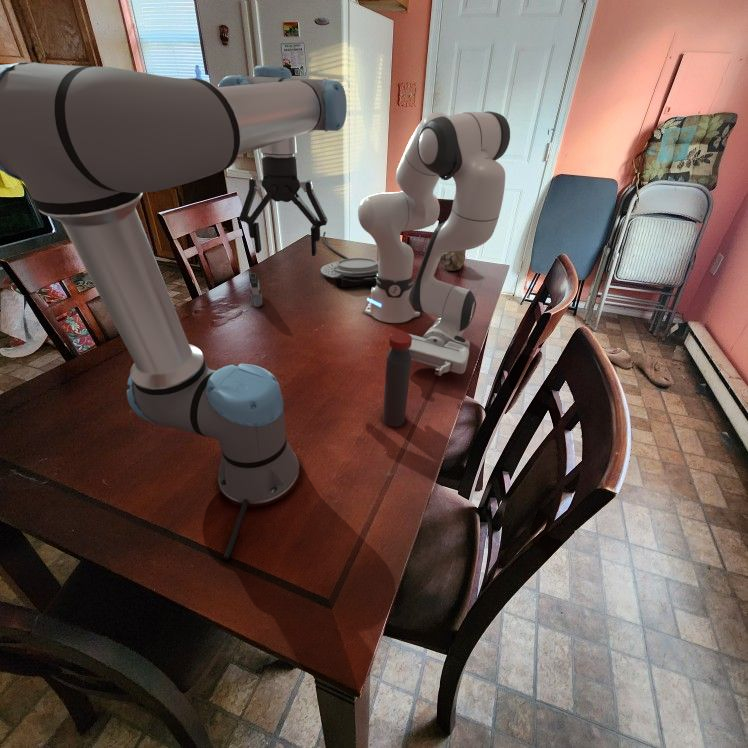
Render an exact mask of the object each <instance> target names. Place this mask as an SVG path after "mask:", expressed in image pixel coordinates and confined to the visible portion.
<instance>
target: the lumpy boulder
mask: <svg viewBox="0 0 748 748" xmlns="http://www.w3.org/2000/svg"><path fill="white" fill-rule="evenodd" d="M465 251H466V250H459V251H451V252H446V253H444V254H442V255H441V258H440V261H439V264H441V265H442V267H443V269H444V270H446V271H449V272H450V271H452V272H456V271H459V270H461V268H463V265H464V262H465V261H466V252H465Z"/></svg>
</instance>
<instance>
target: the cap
mask: <svg viewBox="0 0 748 748" xmlns="http://www.w3.org/2000/svg"><path fill="white" fill-rule="evenodd" d="M409 334H410V333H408V332H403V331H396V332H393V333H391V334H389V340H388V343H389V346H390V347H391V348H394V349H397V350H405V349H408V348H410V347H411V344H412V337H411V335H409Z"/></svg>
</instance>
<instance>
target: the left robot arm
mask: <svg viewBox="0 0 748 748" xmlns="http://www.w3.org/2000/svg"><path fill="white" fill-rule="evenodd" d="M252 72H253V73H252V74H253V76H251V75H243V74H234V75H233V74H232V75H227V76H225V77H223V78H221V80H220V81H219V83H218V85H217V86H216V85H214V84H213V83H212V82H210V81H208V80H206V79H202V78H197V77H191V78H189V77H188V78H179V77H171V76H166V75H165V76H164V75H158V74H152V73H147V72H142V71H136V70H131V69H124V68H117V67H112V66H85V65H72V64H71V65H69V64H55V63H54V64H52V63H39V62H24V61H18V62H15V63H7V64H6V63H5V64H0V171H1V172H3V173H4V174H6V175H7V176H9V177H11V178H13V179H16V180H18V181H21V182H22V183H23V184H24V186H25V188H26V190H27V192H28V193H29V195H30V197H31V199H32V201H33V203H34V204H35V206H36V208H37V210H38V211H39V213H41V214H42V215H44V216H47V217H48V218H51V219H53V220H56V221H57V222H60V223H61V225H62V226H63V229H64V230H65V232H66V234H67V236H68V239H69V240H70V243H71V244H72V245H73V247H74V249H75V251H76V254H77V256H78V257H79V259H80V261H81V263H82V265H83V267H84V268H85V271H86V272H87V274H88V276H89V278H90V280H91V282H92V285H93V286H94V288H95V290H96V291H97V294H98V295H99V297H100V300H101V302H102V303H103V305H104V307H105V309H106V311H107V313H108V315H109V317H110V318H111V320H112V322H113V325H114V326H115V328H116V330H117V332H118V334H119V335H120V338H121V339H122V342H123V344H124V345H125V347H126V349H127V351H128V353H129V355H130V357H131V359H132V361H133V364H132V365H131V368H130V371H129V377H128V379H127V383H126V384H127V385H128V387H129V388H128V389H127V390H126V398H127V402H128V404H129V407H130V408H131V410H132V411H133V412H134V414H136V415H137V416H138V417H140V418H141V419H143V420H146V421H148V422H149V423H151V424H154V425H156V426H157V425H158V426H162V427H167V428H172V429H176V430H179V431H183V432H187V433H191V434H195V435H198V436H199V435H200V436H202V437H207V438H210V439H213V440H214V439H215V440H217V441H218V442H219V446H220V450H221V454H222V455H221V459H220V464H219V468H218V474H217V482H218V486H219V489H220V492H221V494H222V496H223V497H224V499H225V500H226V501H228V502H229V503H231V504H233V505H235V506H238V507H240V509H239V511H238V515H237V518H236V520H235V524H234V526H233V529H232V532H231V536H230V537H229V541H228V544H227V546H226V548H225V552H224V554H223V557H222V558H223V560H229V559H230V556H231V554H232V552H233V550H234V546H235V544H236V540H237V537H238V534H239V531H240V529H241V525H242V522H243V520H244V517H245V513H246V511H247V509H258V508H259V509H260V508H265V507H268V506H271V505H274V504H275V503H277V502H280V501H281V500H283V499H284V498H286V497H287V496H289V494H290V493H291V492H292V491H293V490H294V489H295V487H296V486H297V484H298V482H299V478H300V474H301V473H300V462H299V459H298V456H297V455H296V453H295V451H294V449H292V447H291V444H289V442H288V439H287V431H286V420H285V411H284V407H285V404H284V403H285V402H284V397H283V395H282V390H281V387H280V383H279V381H278V379H277V378H276V376H275V375H274V374H273V373H271V372H270V371H269V370H267V369H266V368H263V367H261V366H259V365H255V364H250V363H239V364H238V365H235V364H229V365H226V366H222V367H220V368H218V369H217V370H214V369H211V368H209V367H208V365H207V362H206V359H205V357H204V354H203V352H202V351H201V349H200V348H199V347H197V346H195V345H193V344H190V343H189V341H188V338H187V336H186V333H185V331H184V329H183V326H182V323H181V320H180V318H179V316H178V312H177V310H176V308H175V306H174V303H173V300H172V297H171V295H170V292H169V290H168V287H167V285H166V282H165V280H164V277H163V275H162V272H161V269H160V266H159V265H158V261H157V259H156V257H155V254H154V252H153V249H152V246H151V244H150V241H149V239H148V236H147V234H146V230H145V228H144V225H143V223H142V221H141V218H140V216H139V213H138V210H137V206H138V204H139V202H140V200H141V198H143V197H142V196H143V195H144V194H145V193H147V194H148V193H153V192H159V191H164V190H167V189H172V188H175V187H179V186H182V185H185V184H189V183H192V182H195V181H199V180H201V179H205V178H206V177H207V178H208V177H210V176H212V175H214V174H218V173H220V172H223V171H225V170H227V169H229V168H230V167H232V166H233V165H234V164H235V162H236V161H237V159H238V158H239V156H241V155H244V154H247V153H250V152H253V151H256V150H260V153H261V154H263V155H262V157H261V169H262V179H260V178H259V179H258V178H257V177H251V178H250V179H249V180H248V192H247V195H246V196H245V200H244V203H243V206H242V209H241V211H240V214H239V217H238V220H239V221H240V222H244V223H245V224H247V226H248V234H249V237H250V239H253V242H254V243H253V244H254V250H255V254H259V253H261V251H262V242H261V241H262V240H261V232H260V224H259V222H256V221H257V219H258V218H259V216H260V215H261V214H262V212H263V211H264V210H265V208H266V207H267V206H268V204H269V203H270V201H271V200H272V201H274V202H276V203H278V202H284V203H289V202H292V203H293V204H294V205H295V206H296V207H297V208H298V209H299V210H300V212H301V213H302V214H303V215H304V216H305V218H306V219H307V220H308V221H309V223H310V224H311V227H310V244H311V256H312V257H315V256H316V255H317V242H320V240H321V228H322V227H323V226H327V223H328V221H329V220H328V218H327V215H326V213H325V211H324V210H323V207H322V205H321V203H320V201H319V199H318V197H317V195H316V193H315V191H314V184H313V181H312V180H311V179H308V180H306V181H300V180H299V175H298V158H297V157H296V156H295V155H296V154H297V139H296V138H297V137H298V136H301V135H305V134H307V133H311V132H313V131H322V132H323V131H324V132H338V131H340V130H342V128H343V127H344V125H345V122H346V118H347V113H348V112H347V111H348V110H347V109H348V105H347V95H346V91H345V88H344V86H343V84H342V83H341V82H340V81H338V80H333V79H326V78H322V79H319V78H318V79H317V78H293V77H292V72H291V70H290V69H289V68H287V67H285V66H274V65H255V66H254V68H253V71H252ZM261 186H262V188H263V190H264V191H265V192H266V194H265V195H264V196H263V198H262V199H261V201H260V203H259V204H257V206H256V208H255V209H254V211H253V212H252V214H251V215H250V216H249V213H250V211H251V208H252V206H253V203H254V200H255V197H256V195H257V192H258V190H259V189H261ZM300 189H302V191H303V192H304V193H306V195H307V197H308V200H309V201H310V203H311V206H312V208H313V209H314V212H315V214H316V215H315V214H314V213H313V211H312V210H311V208H309V206H308V205H307V204H306V203H305V201H304V200H303V199H302V197H301V195H300V194H299V193H298V192H299V190H300Z"/></svg>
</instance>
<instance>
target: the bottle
mask: <svg viewBox="0 0 748 748" xmlns="http://www.w3.org/2000/svg"><path fill="white" fill-rule="evenodd" d="M385 362H386V364H385V365H386V366H385V377H384V392H383V393H384V394H383V395H384V396H383V409H382V421H383V423H384V425H386V426H387V427H391V428H398V427H401V426H403V425H404V424H405V422H406V413H407V404H408V394H409V384H410V375H411V364H412V360H411V355H410V352H409V349H405V350H397V349H394V348H392V347H391V348H390V349H389V351H388V352H387V355H386V361H385Z"/></svg>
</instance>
